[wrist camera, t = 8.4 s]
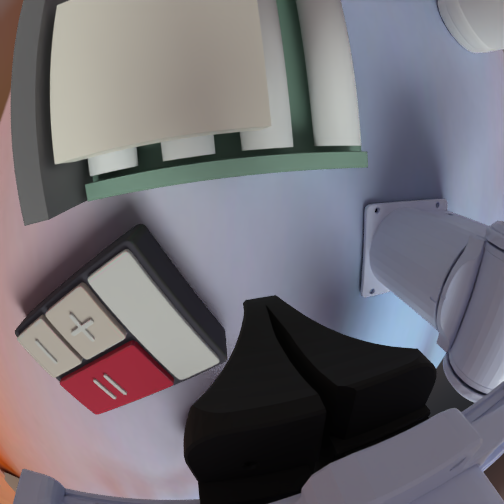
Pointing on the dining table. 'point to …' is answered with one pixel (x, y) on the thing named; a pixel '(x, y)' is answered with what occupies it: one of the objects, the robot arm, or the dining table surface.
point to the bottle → (475, 23)
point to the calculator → (123, 327)
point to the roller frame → (202, 147)
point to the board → (154, 73)
